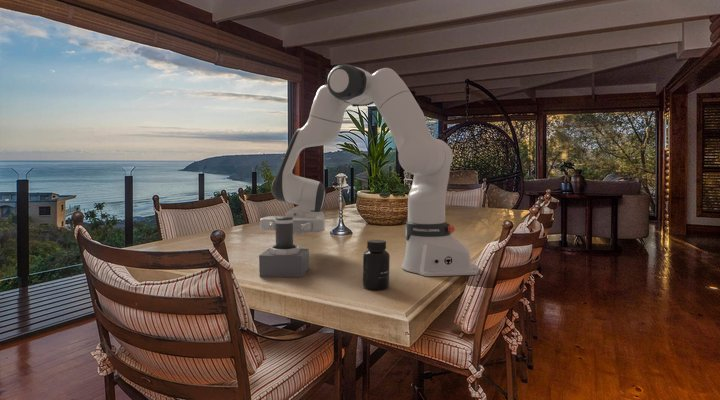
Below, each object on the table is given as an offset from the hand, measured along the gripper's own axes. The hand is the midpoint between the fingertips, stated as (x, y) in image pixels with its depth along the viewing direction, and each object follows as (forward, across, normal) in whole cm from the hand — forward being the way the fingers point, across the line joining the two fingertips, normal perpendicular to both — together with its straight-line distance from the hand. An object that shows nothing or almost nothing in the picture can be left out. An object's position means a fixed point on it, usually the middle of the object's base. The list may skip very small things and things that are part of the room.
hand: (287, 227), depth 126 cm
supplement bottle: (+16, +27, +13) cm, 34 cm away
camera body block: (+3, 0, +13) cm, 13 cm away
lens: (+3, 0, +7) cm, 7 cm away
